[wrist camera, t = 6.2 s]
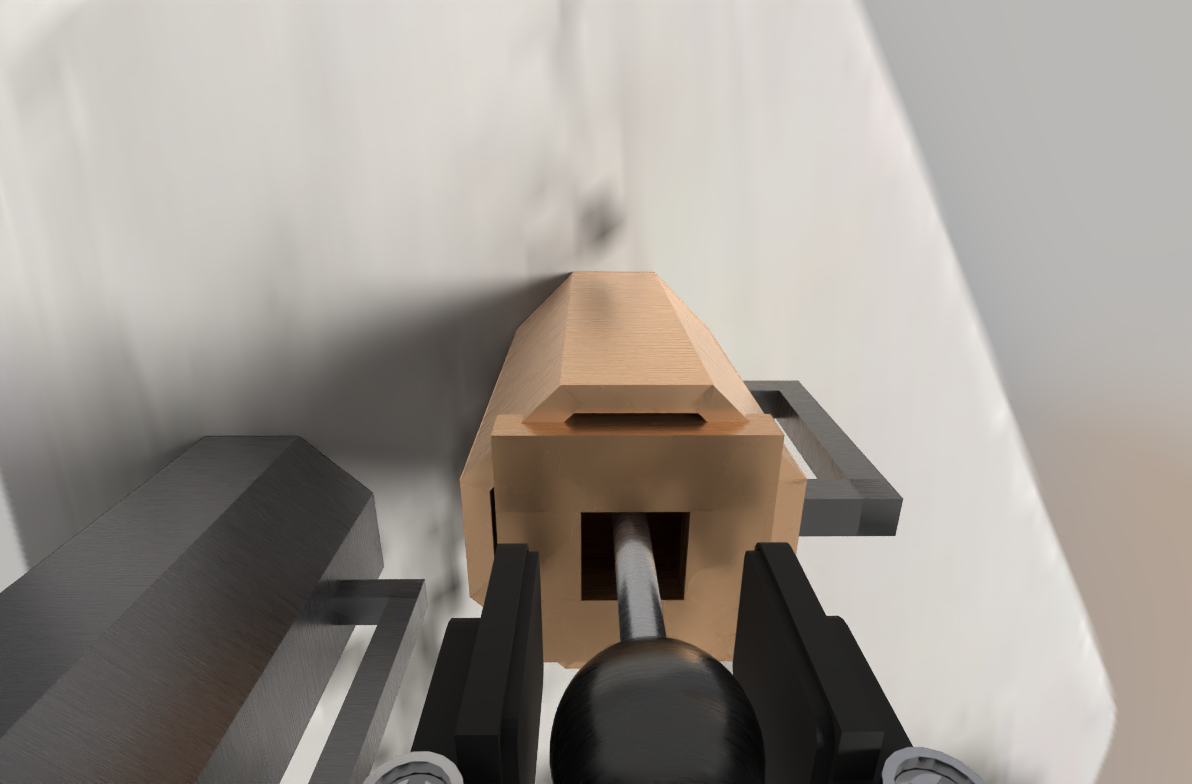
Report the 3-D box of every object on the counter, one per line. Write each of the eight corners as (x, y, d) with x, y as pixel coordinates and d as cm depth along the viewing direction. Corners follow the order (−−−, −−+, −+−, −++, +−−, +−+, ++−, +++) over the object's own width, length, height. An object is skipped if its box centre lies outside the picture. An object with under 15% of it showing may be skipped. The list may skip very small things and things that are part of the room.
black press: (439, 435, 25) (232, 843, 10) (456, 614, 29) (318, 1112, 14) (138, 436, 25) (-498, 851, 10) (191, 615, 28) (-234, 1122, 14)
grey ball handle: (655, 337, 23) (810, 772, 7) (652, 413, 24) (779, 937, 8) (572, 336, 22) (538, 776, 7) (573, 413, 24) (545, 940, 8)
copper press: (782, 272, 23) (970, 395, 12) (762, 448, 26) (899, 686, 14) (514, 271, 23) (444, 396, 12) (522, 448, 25) (471, 690, 14)
